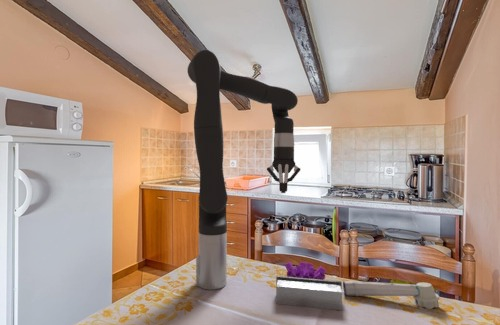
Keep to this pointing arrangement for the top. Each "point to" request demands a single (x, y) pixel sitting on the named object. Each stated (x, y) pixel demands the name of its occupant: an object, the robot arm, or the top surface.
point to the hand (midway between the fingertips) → (283, 192)
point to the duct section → (309, 292)
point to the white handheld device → (394, 291)
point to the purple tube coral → (305, 271)
